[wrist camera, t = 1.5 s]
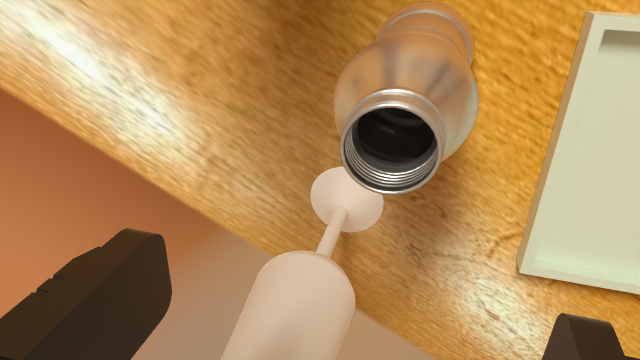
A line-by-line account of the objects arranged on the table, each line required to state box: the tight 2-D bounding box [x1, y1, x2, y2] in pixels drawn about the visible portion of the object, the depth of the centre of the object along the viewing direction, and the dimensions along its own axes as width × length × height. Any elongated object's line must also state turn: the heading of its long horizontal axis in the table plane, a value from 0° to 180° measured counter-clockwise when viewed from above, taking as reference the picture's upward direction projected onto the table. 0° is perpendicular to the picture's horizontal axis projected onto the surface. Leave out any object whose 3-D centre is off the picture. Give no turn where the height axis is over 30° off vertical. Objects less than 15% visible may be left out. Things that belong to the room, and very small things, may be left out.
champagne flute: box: [221, 167, 384, 360], centre depth 31 cm, size 7×7×24 cm
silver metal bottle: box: [333, 1, 479, 195], centre depth 25 cm, size 6×7×20 cm
